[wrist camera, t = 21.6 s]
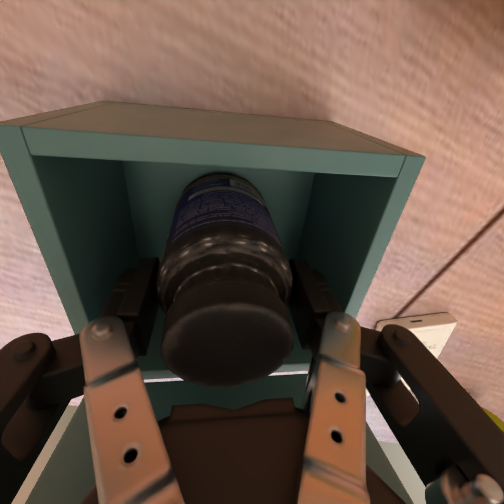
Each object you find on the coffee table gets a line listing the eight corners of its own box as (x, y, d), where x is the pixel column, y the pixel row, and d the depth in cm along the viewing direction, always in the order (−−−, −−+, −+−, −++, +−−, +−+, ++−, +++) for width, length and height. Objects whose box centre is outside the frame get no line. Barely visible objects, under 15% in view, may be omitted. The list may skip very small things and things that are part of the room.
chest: (101, 100, 15) (-13, 123, 7) (334, 121, 17) (427, 156, 9) (135, 278, 21) (93, 382, 14) (297, 278, 23) (333, 369, 16)
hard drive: (355, 384, 35) (376, 320, 28) (414, 376, 35) (449, 311, 28) (361, 397, 33) (384, 333, 27) (422, 388, 34) (460, 323, 27)
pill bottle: (158, 193, 17) (91, 329, 8) (245, 153, 16) (283, 252, 7) (204, 262, 20) (195, 414, 11) (277, 232, 20) (332, 368, 10)
